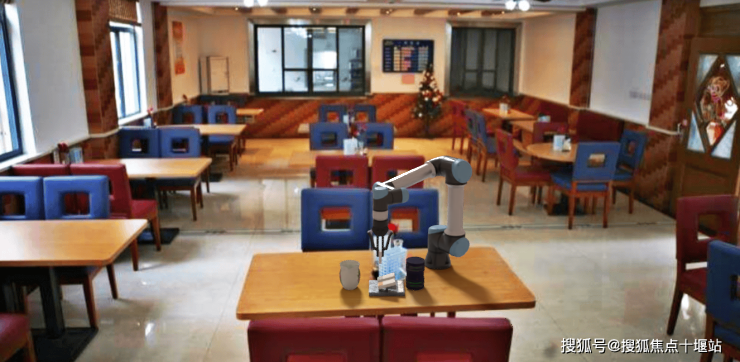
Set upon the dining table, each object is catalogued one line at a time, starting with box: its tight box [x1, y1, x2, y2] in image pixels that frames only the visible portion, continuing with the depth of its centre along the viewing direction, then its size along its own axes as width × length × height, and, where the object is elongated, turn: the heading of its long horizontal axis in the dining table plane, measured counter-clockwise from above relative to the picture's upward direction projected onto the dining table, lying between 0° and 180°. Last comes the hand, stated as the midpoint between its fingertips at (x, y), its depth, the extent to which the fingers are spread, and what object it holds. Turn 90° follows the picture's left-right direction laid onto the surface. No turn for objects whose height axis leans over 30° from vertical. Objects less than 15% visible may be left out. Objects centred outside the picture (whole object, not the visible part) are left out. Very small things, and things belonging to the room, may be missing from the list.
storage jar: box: [405, 256, 426, 292], centre depth 298 cm, size 10×10×15 cm
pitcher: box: [338, 259, 361, 291], centre depth 298 cm, size 11×18×14 cm, turn 1°
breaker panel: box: [368, 279, 406, 297], centre depth 295 cm, size 18×15×4 cm
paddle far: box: [377, 272, 396, 283], centre depth 298 cm, size 9×4×2 cm, turn 89°
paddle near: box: [378, 277, 396, 289], centre depth 291 cm, size 9×4×2 cm, turn 89°
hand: (380, 262), depth 288 cm, fingers closed
